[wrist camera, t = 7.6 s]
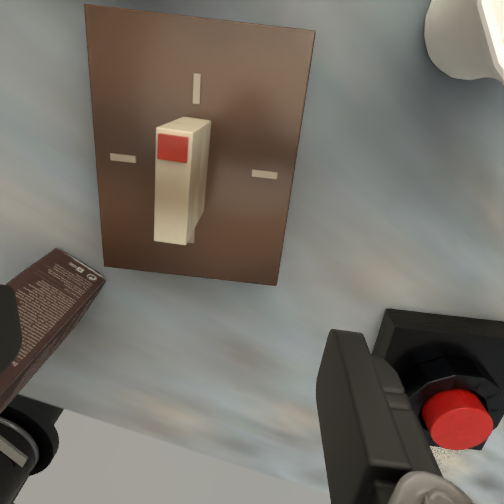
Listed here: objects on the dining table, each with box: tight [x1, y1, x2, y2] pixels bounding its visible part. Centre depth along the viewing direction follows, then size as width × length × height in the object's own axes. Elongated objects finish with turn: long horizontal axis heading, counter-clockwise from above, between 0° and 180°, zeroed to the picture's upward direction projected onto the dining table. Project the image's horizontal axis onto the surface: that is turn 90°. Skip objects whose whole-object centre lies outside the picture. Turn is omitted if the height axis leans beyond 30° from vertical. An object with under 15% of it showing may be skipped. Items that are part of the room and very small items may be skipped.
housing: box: [372, 309, 504, 450], centre depth 27 cm, size 11×10×4 cm
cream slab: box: [154, 117, 211, 245], centre depth 18 cm, size 5×2×5 cm, turn 172°
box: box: [0, 248, 106, 413], centre depth 22 cm, size 6×4×12 cm
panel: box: [84, 4, 316, 286], centre depth 21 cm, size 14×11×3 cm
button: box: [422, 389, 493, 450], centre depth 25 cm, size 4×4×2 cm
